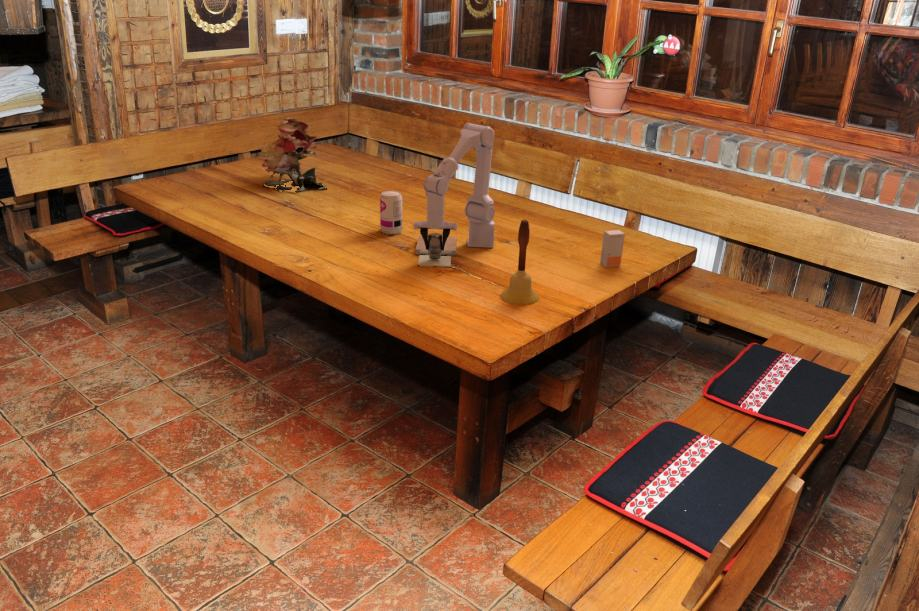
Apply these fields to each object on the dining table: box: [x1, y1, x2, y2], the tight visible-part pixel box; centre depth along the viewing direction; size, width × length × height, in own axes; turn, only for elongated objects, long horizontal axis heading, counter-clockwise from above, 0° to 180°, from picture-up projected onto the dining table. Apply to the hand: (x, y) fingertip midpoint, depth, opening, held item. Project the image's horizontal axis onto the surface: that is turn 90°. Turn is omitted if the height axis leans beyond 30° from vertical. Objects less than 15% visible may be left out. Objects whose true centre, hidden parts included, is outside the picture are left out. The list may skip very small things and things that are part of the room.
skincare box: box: [599, 229, 626, 268], centre depth 266 cm, size 6×4×12 cm
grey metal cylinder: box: [428, 232, 443, 259], centre depth 264 cm, size 5×5×8 cm
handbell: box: [499, 219, 540, 306], centre depth 236 cm, size 12×12×25 cm
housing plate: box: [415, 235, 458, 257], centre depth 277 cm, size 14×14×2 cm
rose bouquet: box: [260, 117, 327, 194], centre depth 337 cm, size 26×29×30 cm
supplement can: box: [379, 190, 403, 235], centre depth 289 cm, size 8×8×15 cm
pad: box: [417, 255, 452, 268], centre depth 266 cm, size 11×9×1 cm
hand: (434, 249), depth 264 cm, fingers closed on grey metal cylinder, 5 cm apart
